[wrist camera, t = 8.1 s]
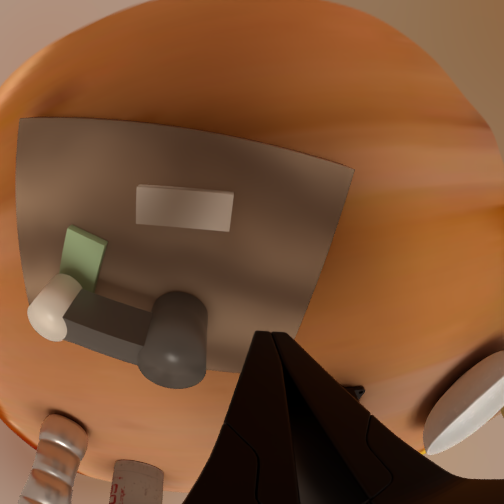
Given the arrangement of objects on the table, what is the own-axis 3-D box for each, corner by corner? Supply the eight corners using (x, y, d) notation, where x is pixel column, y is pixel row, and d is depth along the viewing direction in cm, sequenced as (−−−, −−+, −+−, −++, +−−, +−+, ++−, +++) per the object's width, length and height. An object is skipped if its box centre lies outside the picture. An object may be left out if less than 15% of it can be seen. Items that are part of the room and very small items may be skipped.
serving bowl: (409, 438, 38) (422, 466, 31) (410, 386, 29) (434, 427, 22) (495, 380, 36) (512, 403, 29) (519, 307, 27) (547, 334, 20)
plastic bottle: (68, 434, 28) (43, 548, 10) (38, 406, 25) (1, 529, 7) (100, 436, 28) (80, 564, 10) (69, 407, 25) (35, 549, 7)
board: (274, 358, 23) (279, 381, 21) (45, 317, 19) (32, 335, 17) (341, 163, 17) (359, 171, 14) (36, 117, 13) (14, 119, 11)
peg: (215, 301, 17) (215, 353, 13) (199, 342, 19) (196, 394, 15) (60, 250, 15) (24, 288, 11) (59, 296, 16) (29, 338, 12)
